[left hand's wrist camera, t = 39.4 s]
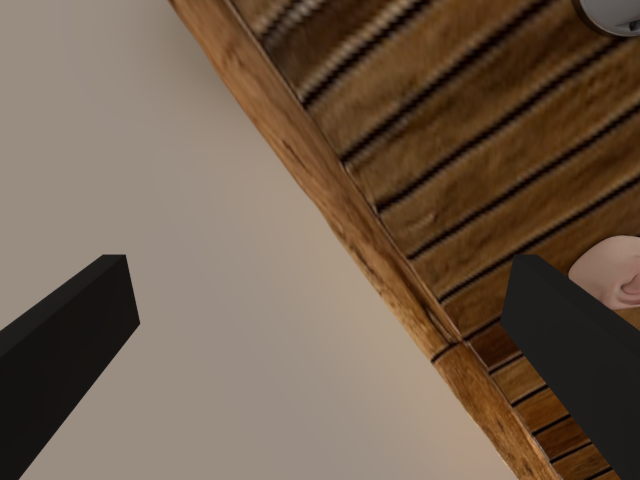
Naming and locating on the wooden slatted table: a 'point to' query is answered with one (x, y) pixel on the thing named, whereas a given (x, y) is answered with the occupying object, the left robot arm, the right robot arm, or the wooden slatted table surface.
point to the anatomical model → (611, 272)
